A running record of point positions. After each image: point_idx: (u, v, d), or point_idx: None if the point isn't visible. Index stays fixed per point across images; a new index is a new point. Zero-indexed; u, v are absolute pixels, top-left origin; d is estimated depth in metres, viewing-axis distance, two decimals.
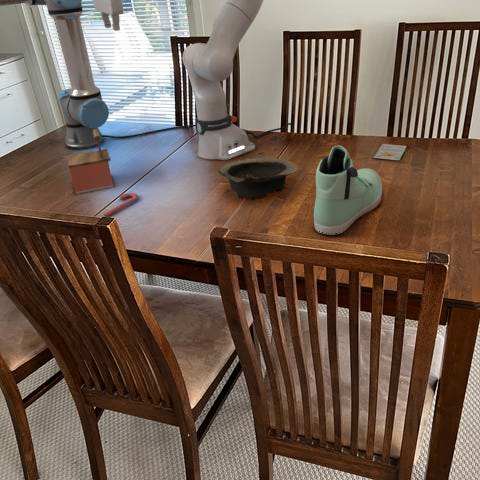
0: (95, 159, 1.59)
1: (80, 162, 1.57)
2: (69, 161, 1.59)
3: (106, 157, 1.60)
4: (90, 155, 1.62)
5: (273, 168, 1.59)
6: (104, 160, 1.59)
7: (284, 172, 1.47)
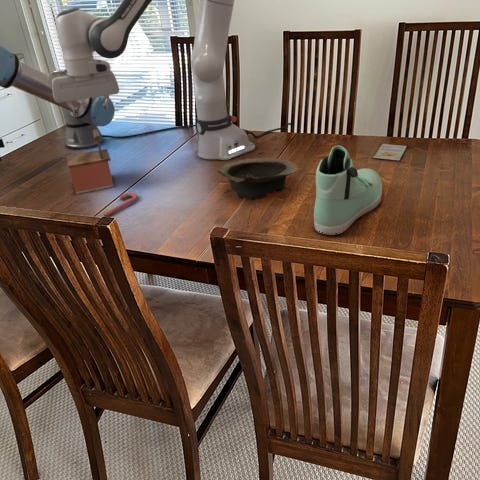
0: (95, 159, 1.59)
1: (80, 162, 1.57)
2: (69, 161, 1.59)
3: (106, 157, 1.60)
4: (90, 155, 1.62)
5: (273, 168, 1.59)
6: (104, 160, 1.59)
7: (284, 172, 1.47)
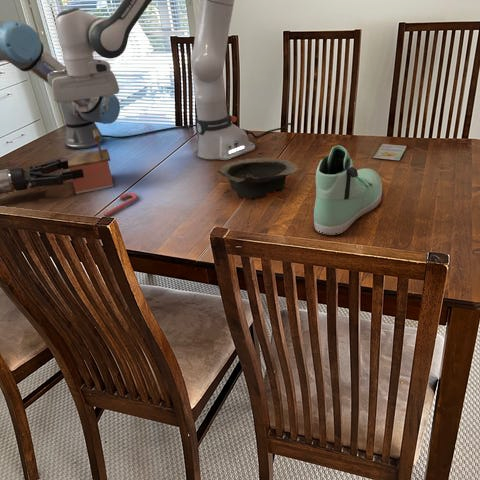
0: (95, 159, 1.59)
1: (80, 162, 1.57)
2: (69, 161, 1.59)
3: (106, 157, 1.60)
4: (90, 155, 1.62)
5: (273, 168, 1.59)
6: (104, 160, 1.59)
7: (284, 172, 1.47)
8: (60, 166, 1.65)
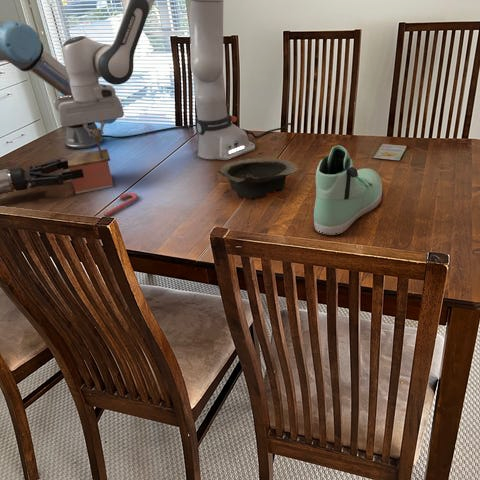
0: (95, 159, 1.59)
1: (80, 162, 1.57)
2: (69, 161, 1.59)
3: (106, 157, 1.60)
4: (90, 155, 1.62)
5: (273, 168, 1.59)
6: (104, 160, 1.59)
7: (284, 172, 1.47)
8: (60, 166, 1.65)
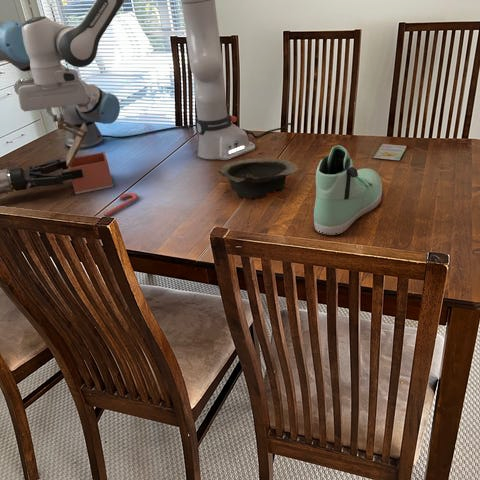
0: (78, 142, 1.54)
1: (71, 155, 1.55)
2: (67, 161, 1.59)
3: (83, 132, 1.53)
4: (76, 140, 1.58)
5: (273, 168, 1.59)
6: (83, 136, 1.53)
7: (284, 172, 1.47)
8: (59, 166, 1.65)
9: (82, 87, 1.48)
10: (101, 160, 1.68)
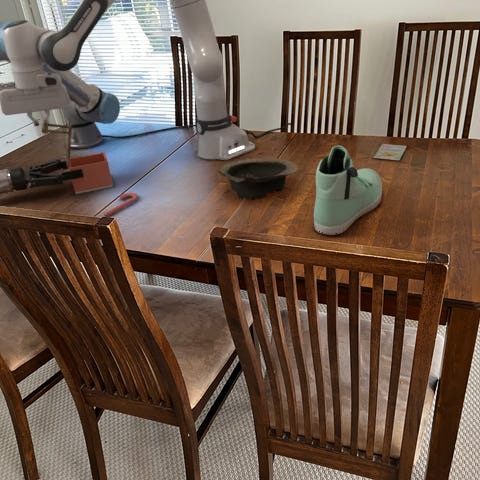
0: (67, 139, 1.53)
1: (67, 154, 1.55)
2: (66, 161, 1.59)
3: (68, 128, 1.51)
4: (67, 138, 1.57)
5: (273, 168, 1.59)
6: (69, 132, 1.51)
7: (284, 172, 1.47)
8: (60, 166, 1.65)
9: (64, 91, 1.47)
10: (101, 160, 1.68)
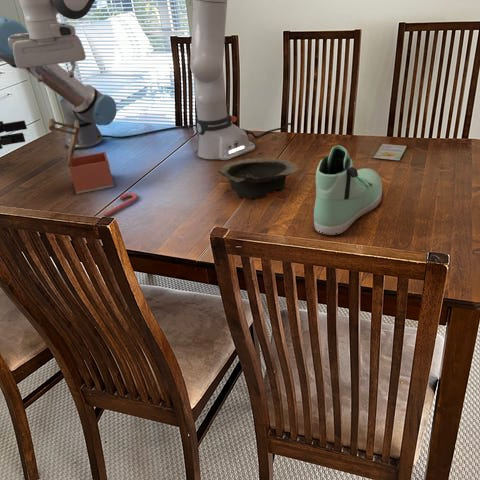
0: (73, 140, 1.54)
1: (70, 154, 1.55)
2: (67, 161, 1.59)
3: (75, 129, 1.52)
4: (71, 139, 1.58)
5: (273, 168, 1.59)
6: (76, 133, 1.52)
7: (284, 172, 1.47)
8: (3, 129, 1.55)
9: (79, 43, 1.42)
10: (102, 160, 1.68)
